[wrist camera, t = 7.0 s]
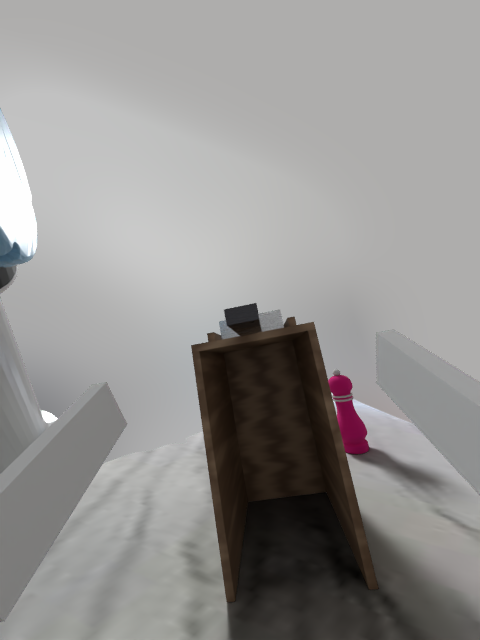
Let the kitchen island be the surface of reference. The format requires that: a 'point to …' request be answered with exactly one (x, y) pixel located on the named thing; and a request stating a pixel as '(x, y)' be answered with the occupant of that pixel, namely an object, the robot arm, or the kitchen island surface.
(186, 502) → the kitchen island surface
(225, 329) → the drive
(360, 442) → the pepper mill
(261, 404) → the stand
